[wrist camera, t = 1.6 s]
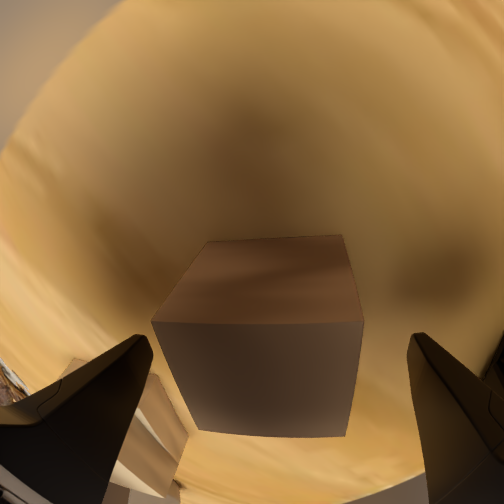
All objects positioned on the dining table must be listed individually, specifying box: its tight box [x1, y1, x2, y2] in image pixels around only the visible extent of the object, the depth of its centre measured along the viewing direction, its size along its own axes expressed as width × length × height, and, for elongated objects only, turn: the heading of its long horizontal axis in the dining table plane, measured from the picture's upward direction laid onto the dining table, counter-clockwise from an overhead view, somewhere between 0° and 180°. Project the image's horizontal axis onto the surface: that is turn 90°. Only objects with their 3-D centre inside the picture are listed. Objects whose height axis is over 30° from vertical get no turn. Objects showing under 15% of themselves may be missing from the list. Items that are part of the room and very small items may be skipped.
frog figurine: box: [0, 358, 31, 406], centre depth 23 cm, size 12×12×4 cm
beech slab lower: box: [57, 359, 189, 464], centre depth 17 cm, size 7×7×3 cm
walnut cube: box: [151, 235, 364, 438], centre depth 10 cm, size 5×5×5 cm
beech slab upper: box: [110, 414, 179, 499], centre depth 14 cm, size 7×7×3 cm
